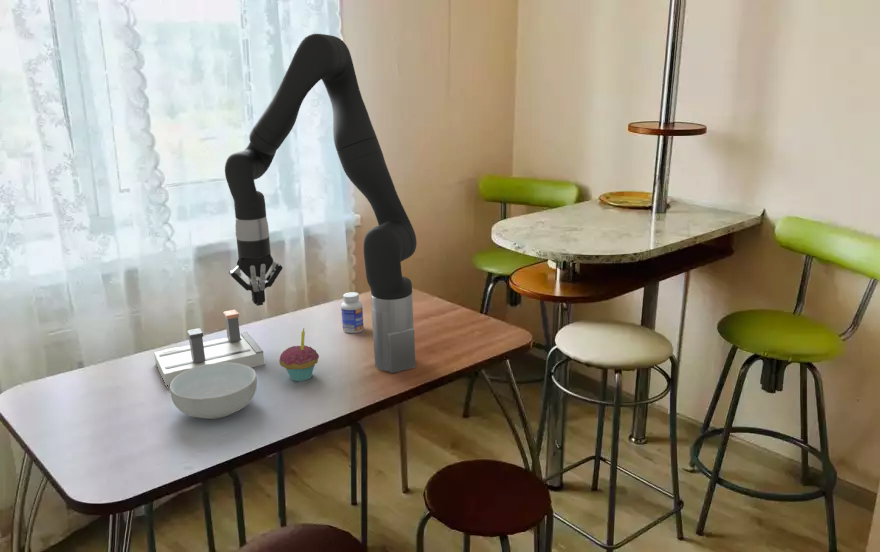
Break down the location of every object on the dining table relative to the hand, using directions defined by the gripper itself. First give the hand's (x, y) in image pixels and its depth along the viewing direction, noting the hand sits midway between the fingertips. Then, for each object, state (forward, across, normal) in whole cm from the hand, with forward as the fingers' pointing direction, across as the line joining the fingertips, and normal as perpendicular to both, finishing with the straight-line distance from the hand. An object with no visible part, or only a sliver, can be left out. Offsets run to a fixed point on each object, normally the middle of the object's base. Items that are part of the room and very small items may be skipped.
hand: (259, 304), depth 179 cm
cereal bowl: (+11, -18, -28) cm, 35 cm away
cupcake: (+11, +2, -22) cm, 25 cm away
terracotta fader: (+8, -7, 0) cm, 10 cm away
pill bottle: (+11, +23, -2) cm, 26 cm away
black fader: (+8, -17, -8) cm, 20 cm away
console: (+11, -14, -4) cm, 18 cm away
